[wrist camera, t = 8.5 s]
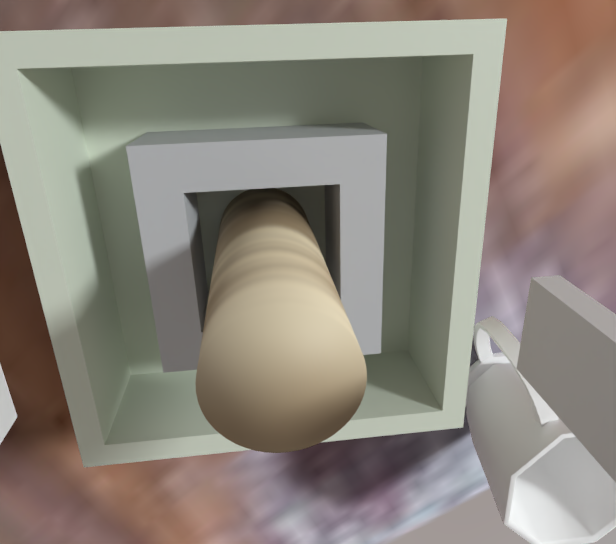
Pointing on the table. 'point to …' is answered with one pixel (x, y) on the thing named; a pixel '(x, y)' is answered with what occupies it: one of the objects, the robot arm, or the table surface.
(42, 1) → the table surface
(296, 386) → the peg
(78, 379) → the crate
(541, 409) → the cup
